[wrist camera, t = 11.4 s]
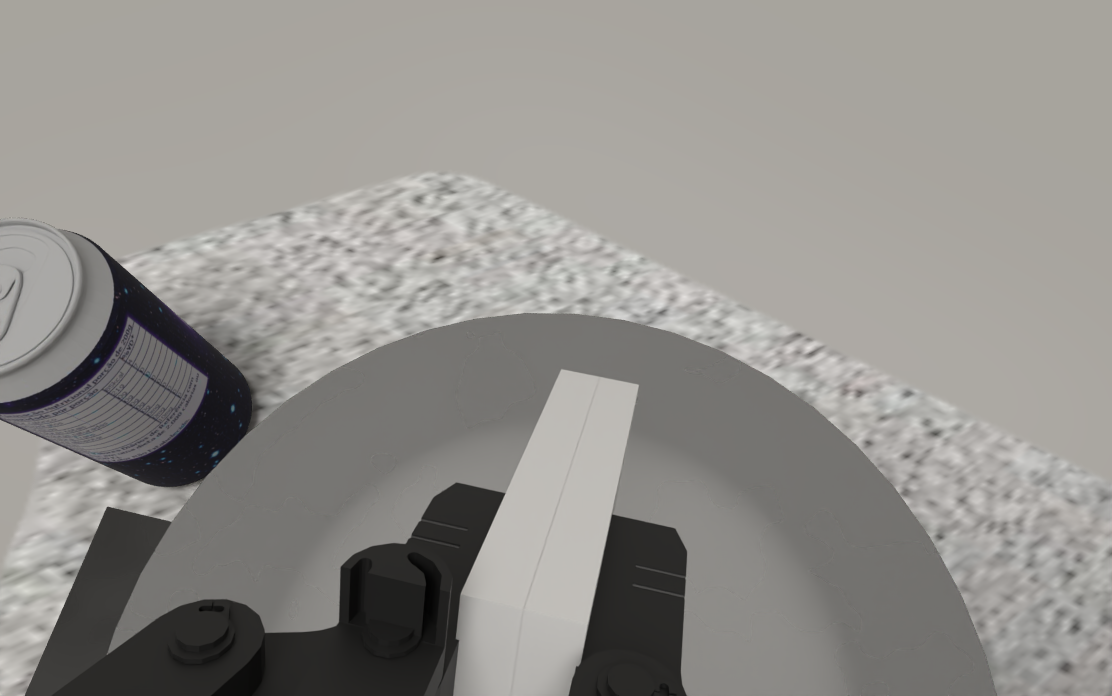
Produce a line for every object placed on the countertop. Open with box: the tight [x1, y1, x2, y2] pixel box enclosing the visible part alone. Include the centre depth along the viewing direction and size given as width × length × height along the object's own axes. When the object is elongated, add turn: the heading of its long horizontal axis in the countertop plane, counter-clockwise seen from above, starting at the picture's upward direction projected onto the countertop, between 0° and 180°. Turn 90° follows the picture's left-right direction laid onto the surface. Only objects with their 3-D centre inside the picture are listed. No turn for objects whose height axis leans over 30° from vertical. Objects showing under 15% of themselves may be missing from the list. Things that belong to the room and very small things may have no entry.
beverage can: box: [0, 218, 252, 487], centre depth 27 cm, size 6×6×12 cm
